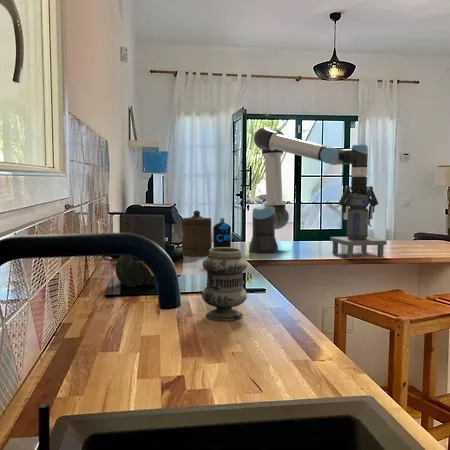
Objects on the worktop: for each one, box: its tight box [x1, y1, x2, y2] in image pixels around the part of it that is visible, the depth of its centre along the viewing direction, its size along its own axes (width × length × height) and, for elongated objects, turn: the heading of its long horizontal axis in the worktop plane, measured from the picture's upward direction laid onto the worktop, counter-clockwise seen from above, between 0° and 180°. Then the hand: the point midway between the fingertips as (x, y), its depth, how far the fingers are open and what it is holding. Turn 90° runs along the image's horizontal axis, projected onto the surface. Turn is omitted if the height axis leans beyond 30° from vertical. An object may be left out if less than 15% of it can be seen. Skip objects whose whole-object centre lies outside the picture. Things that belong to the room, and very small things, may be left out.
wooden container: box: [181, 210, 213, 257], centre depth 240 cm, size 15×15×22 cm
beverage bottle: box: [346, 190, 375, 240], centre depth 239 cm, size 10×13×25 cm
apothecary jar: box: [201, 247, 248, 322], centre depth 128 cm, size 12×12×18 cm
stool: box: [329, 236, 388, 259], centre depth 240 cm, size 20×20×8 cm
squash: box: [114, 255, 155, 288], centre depth 168 cm, size 14×15×15 cm
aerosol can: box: [212, 217, 232, 248], centre depth 215 cm, size 8×8×20 cm
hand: (358, 219), depth 239 cm, fingers open, 13 cm apart
